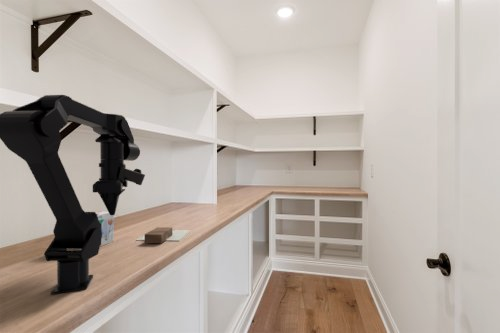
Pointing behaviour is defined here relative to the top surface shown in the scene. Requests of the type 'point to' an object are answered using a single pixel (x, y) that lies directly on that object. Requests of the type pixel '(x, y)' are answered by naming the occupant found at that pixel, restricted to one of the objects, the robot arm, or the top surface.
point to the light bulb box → (106, 227)
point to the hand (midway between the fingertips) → (112, 215)
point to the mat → (176, 235)
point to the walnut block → (158, 235)
